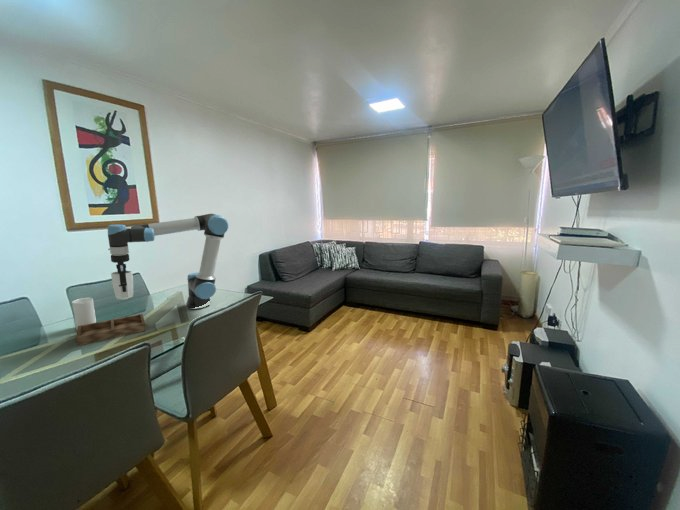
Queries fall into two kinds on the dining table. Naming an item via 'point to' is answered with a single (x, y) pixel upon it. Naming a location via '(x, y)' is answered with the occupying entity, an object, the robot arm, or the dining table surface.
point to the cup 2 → (116, 283)
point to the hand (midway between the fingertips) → (124, 294)
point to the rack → (109, 329)
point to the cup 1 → (84, 311)
